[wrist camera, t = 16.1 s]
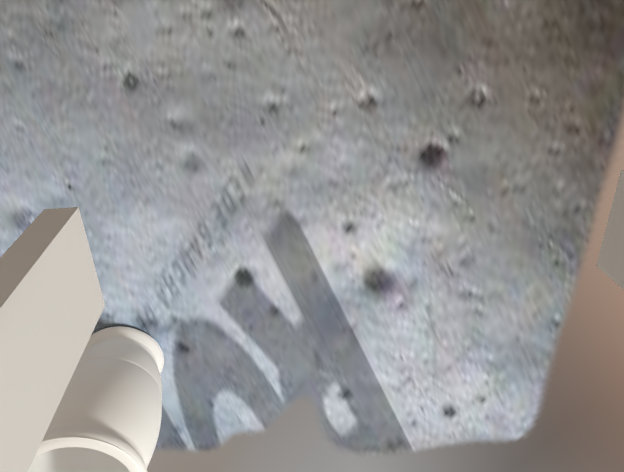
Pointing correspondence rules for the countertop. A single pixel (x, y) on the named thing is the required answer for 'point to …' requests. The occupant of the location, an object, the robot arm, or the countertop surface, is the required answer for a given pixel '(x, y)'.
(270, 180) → the countertop surface
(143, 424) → the jar
